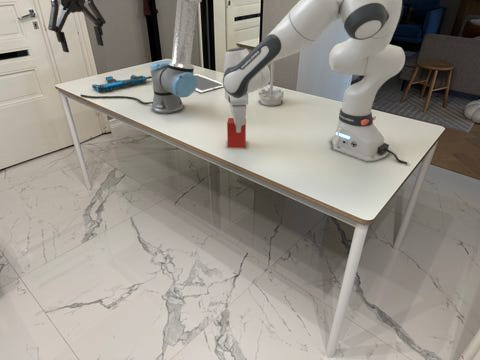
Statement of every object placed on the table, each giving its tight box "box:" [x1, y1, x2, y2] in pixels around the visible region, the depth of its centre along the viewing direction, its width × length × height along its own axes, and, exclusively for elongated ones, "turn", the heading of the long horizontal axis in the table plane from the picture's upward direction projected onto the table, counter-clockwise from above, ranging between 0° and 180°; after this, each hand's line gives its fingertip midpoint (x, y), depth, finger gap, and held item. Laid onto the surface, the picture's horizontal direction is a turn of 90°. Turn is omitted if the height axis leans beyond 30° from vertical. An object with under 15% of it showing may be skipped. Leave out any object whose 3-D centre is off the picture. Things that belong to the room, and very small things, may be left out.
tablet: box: [193, 73, 224, 94], centre depth 207 cm, size 32×20×1 cm, turn 41°
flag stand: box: [258, 61, 285, 107], centre depth 172 cm, size 13×13×30 cm
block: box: [226, 117, 247, 149], centre depth 136 cm, size 5×7×11 cm
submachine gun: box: [91, 74, 152, 93], centre depth 206 cm, size 34×4×25 cm
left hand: (84, 48), depth 124 cm, fingers open, 13 cm apart
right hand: (236, 126), depth 135 cm, fingers open, 8 cm apart
